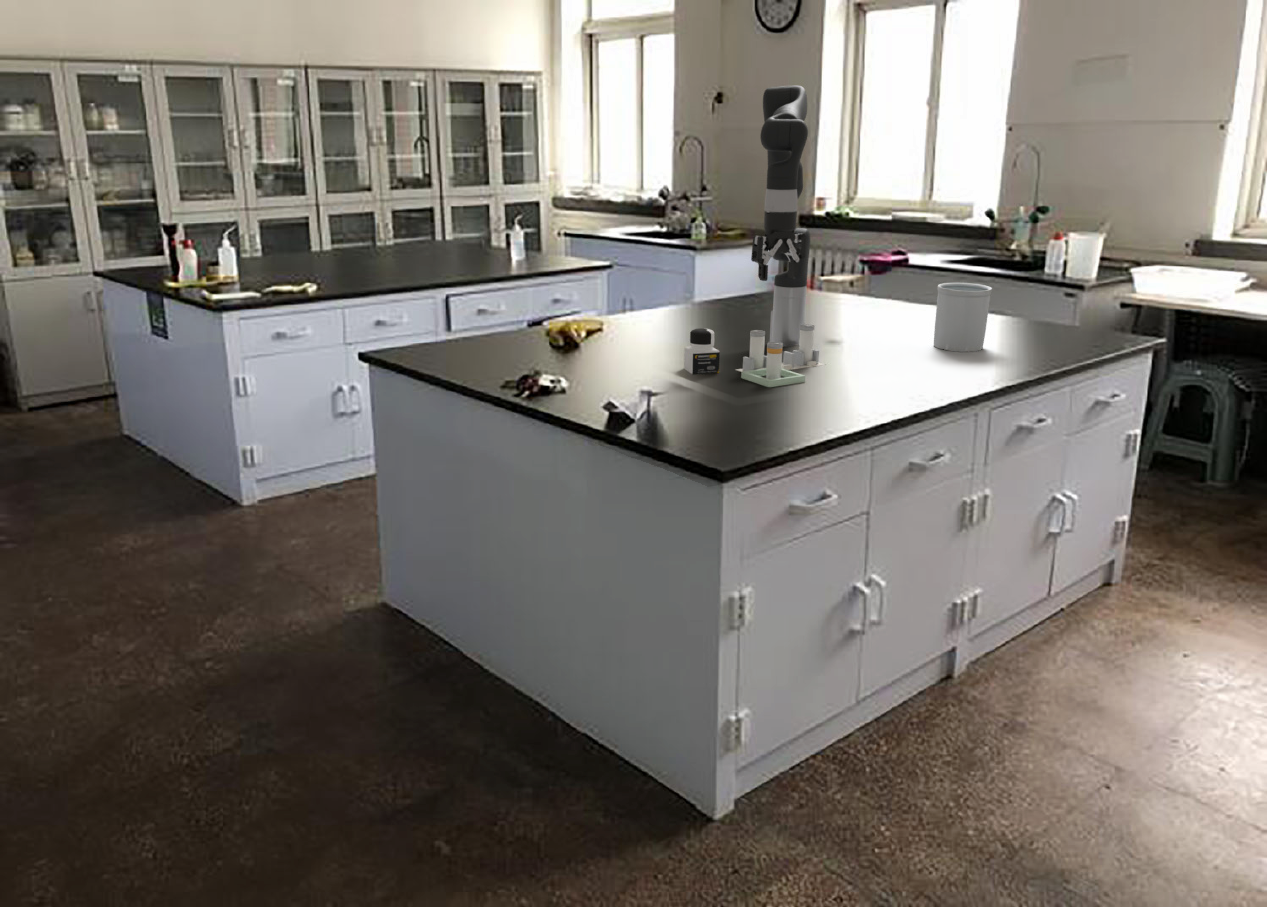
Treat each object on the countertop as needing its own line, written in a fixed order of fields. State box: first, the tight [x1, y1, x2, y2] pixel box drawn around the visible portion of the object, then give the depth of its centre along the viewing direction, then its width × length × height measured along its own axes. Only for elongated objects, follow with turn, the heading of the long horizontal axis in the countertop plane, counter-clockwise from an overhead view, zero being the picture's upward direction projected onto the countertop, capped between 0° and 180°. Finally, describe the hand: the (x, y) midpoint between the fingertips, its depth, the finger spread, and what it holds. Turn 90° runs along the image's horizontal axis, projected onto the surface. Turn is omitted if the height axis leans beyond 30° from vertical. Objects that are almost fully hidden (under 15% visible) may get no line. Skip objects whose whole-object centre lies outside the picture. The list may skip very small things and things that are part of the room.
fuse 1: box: [749, 329, 766, 370], centre depth 262 cm, size 4×4×10 cm
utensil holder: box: [933, 282, 993, 353], centre depth 297 cm, size 15×15×18 cm
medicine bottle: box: [683, 327, 721, 375], centre depth 262 cm, size 7×7×12 cm
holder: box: [735, 348, 827, 372], centre depth 267 cm, size 7×24×5 cm, turn 121°
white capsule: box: [798, 323, 816, 365], centre depth 270 cm, size 4×4×10 cm
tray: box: [740, 368, 806, 388], centre depth 254 cm, size 11×11×3 cm
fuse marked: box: [765, 341, 783, 380], centre depth 253 cm, size 4×4×10 cm
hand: (777, 279), depth 247 cm, fingers open, 8 cm apart
